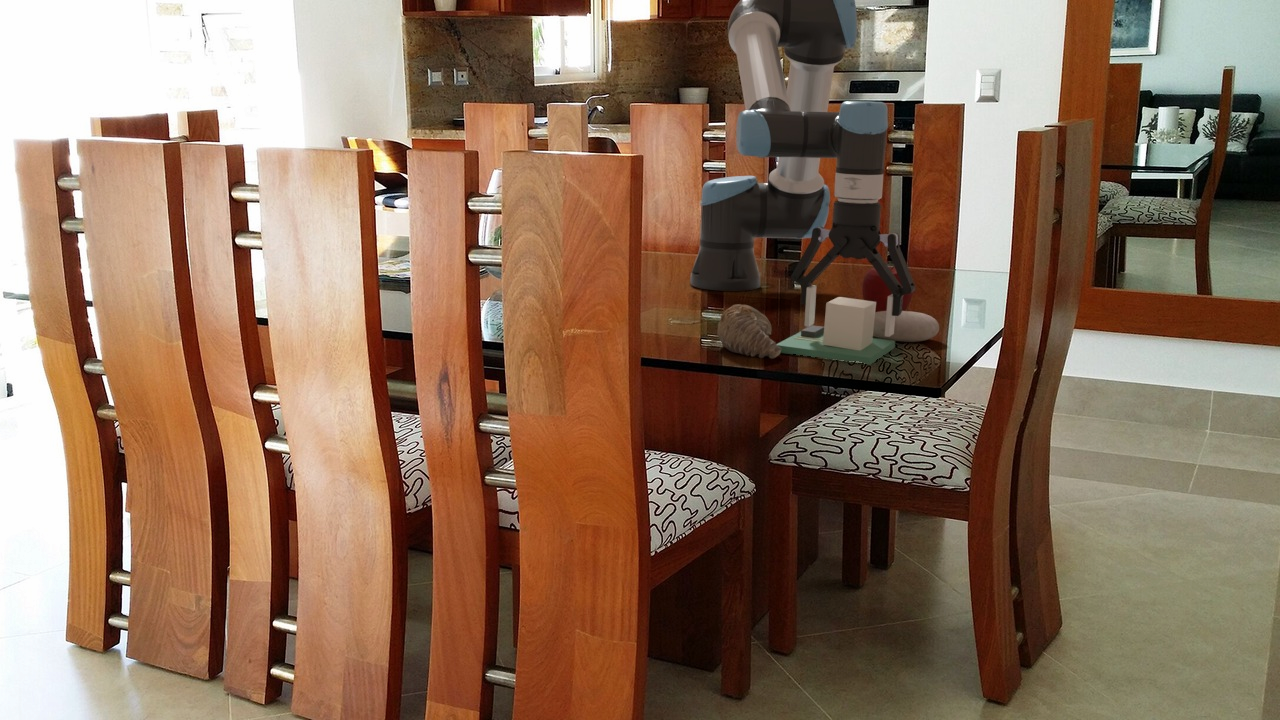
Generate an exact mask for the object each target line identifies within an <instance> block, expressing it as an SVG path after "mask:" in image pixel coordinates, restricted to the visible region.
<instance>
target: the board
mask: <svg viewBox="0 0 1280 720" xmlns="http://www.w3.org/2000/svg"><path fill="white" fill-rule="evenodd" d="M823 335H824V326H821V325H814V324H813V325H811V326H809V327H808V326H806V327H805V328H803V329H801V330H800V331H799V332H797V333H795V334H794V335H791V336H789V337H787V338H786V339H784V340H781V341H780V342H778V343H776V345H777V346H779V347H780V348H781V352H780V354H786V355H787V354H788V355H793V354H796V355H795V356H800V355H803V356H802V357H807V356H811V357H810V358H815V357H821V358H820V359H822V358H828V359H827V360H829V359H837V360H844V361H859V362H862V363H865V364H868V365H867V366H871V365H872V363H873V364H874V363H875V362H877V361H878V360H879V358H880V357H881V358H883V357H884V356H886V354H888V353H889V352H891V351H892V350H893V349H895V347H896V341H892V340H885V339H881V338H877V337H873V339H872V344H870V345H869V346H867V347H865V348H864V349H862V350H861V351H859V350H853V349H847V348H840V347H834V346H828V345H823ZM883 355H884V356H883ZM881 358H880V359H881ZM877 359H878V360H877ZM876 360H877V361H876ZM865 364H864V365H865Z"/></svg>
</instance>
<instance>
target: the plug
mask: <svg viewBox="0 0 1280 720" xmlns="http://www.w3.org/2000/svg"><path fill="white" fill-rule="evenodd" d="M875 310H876V302H873V301H866V300H864V299H857V298H851V297H844V296H837V297H835V298H834V299H831V300H830V301H827V302H826V304H825V314H824V315H825V316H824V326H823V327H824V335H823V345H828V346H834V347H840V348H847V349H853V350H859V351H861V350H862V349H864V348H865V347H867V346H869V345H870V344H872V339H873V338H874V336H873V329H874V320H875Z"/></svg>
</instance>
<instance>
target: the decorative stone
mask: <svg viewBox="0 0 1280 720" xmlns="http://www.w3.org/2000/svg"><path fill="white" fill-rule="evenodd" d="M886 312H887V311H880V312H875V320H874V329H873V337H874V338H877V339H884V340H892V341H895V342H902V343H915V342H923V341H928V340H930V339H932V338H935V336H937V335H938V333H939V331H940V324H939V322H938V320H937V319H935V318H934V317H933V316H931V315H928V314H926V313H923V312H917V311H910V310H909V311H908V310H906V311H902V312H901V314H900V315H899V316H895V326H894V334H893V335H891V336H890V337H887V336H885V325H886Z"/></svg>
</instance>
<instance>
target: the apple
mask: <svg viewBox="0 0 1280 720" xmlns="http://www.w3.org/2000/svg"><path fill="white" fill-rule="evenodd" d="M888 267H889V269H890V270H891V272H892V273H893V274H894V276H895V277H896V279H897V280H898V282H899V283H900V284H901V282H900V279H899V277H898V274H897V272H896V269H895V267H894V265H893V266H888ZM861 285H862V289H861V290H862V300H866V301H873V302H876V310H875V312H880V311H887V300H888V296H889V295H891V294H892V292H891V291H890V290H889V288H888V287H887V285H886V284H885V282H884V281H883V280H882V278H881V277H880V275H879V274H878V273H877V271H876V270H875V268H874V267H873V266H872V267H871V268H870V269H868V271H867V272H866V274H864V277H863V280H862V284H861ZM901 286H902V284H901ZM913 295H914V291H913V292H911V293H910V294H905V295H904V296H903V303H902V311H907V309H908V307H909V306H910V303H911V301H912V298H913Z"/></svg>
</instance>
